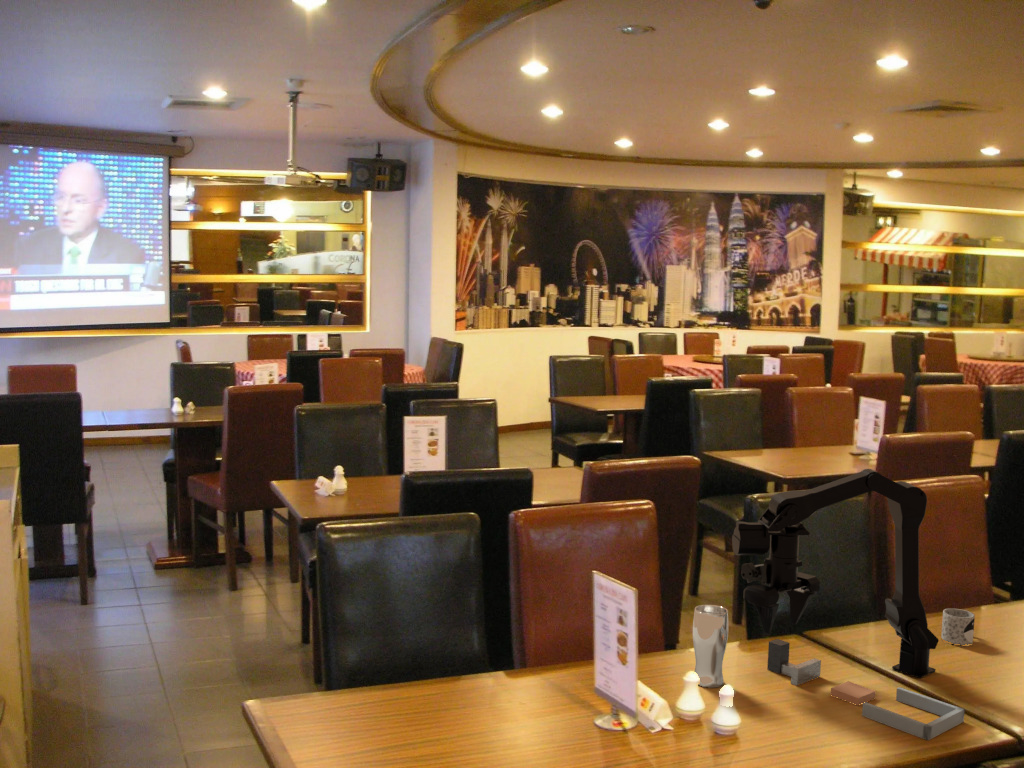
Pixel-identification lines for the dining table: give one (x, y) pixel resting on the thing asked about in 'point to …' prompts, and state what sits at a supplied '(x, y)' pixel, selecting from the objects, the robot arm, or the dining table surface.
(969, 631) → the mug
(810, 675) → the grey angular piece
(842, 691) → the terracotta tile
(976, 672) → the dining table surface
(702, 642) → the beer glass
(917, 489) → the robot arm
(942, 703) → the corral
